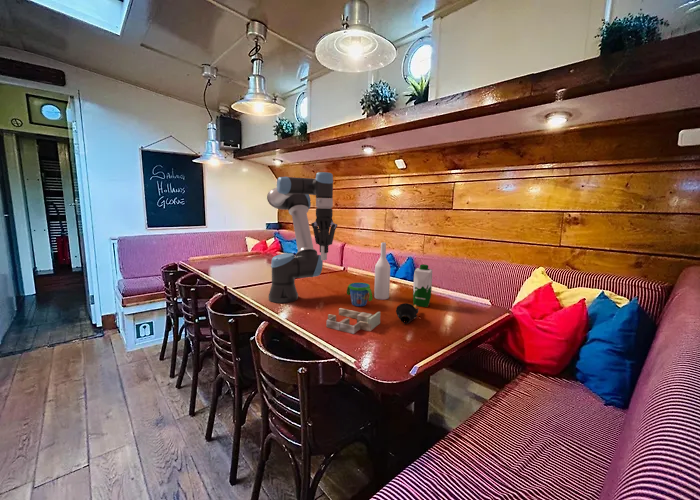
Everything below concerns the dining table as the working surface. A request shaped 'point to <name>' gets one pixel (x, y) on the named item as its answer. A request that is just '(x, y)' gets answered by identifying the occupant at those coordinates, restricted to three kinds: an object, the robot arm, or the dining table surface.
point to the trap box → (345, 324)
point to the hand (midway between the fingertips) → (323, 259)
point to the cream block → (363, 317)
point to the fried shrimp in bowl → (406, 312)
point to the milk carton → (422, 286)
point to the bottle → (382, 276)
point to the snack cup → (359, 293)
